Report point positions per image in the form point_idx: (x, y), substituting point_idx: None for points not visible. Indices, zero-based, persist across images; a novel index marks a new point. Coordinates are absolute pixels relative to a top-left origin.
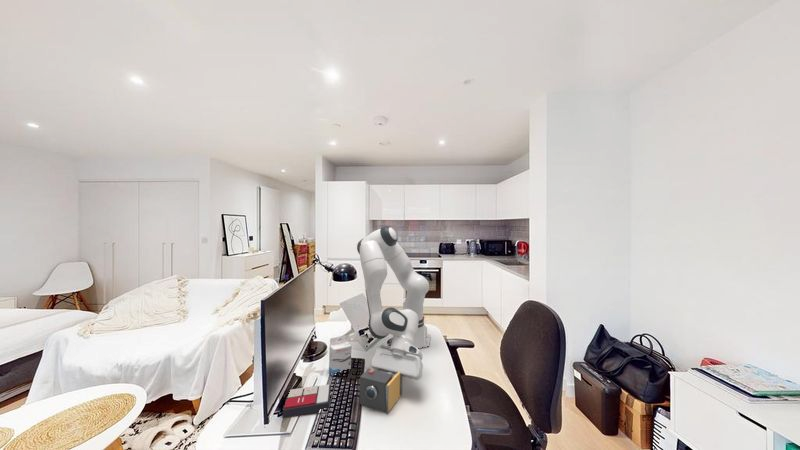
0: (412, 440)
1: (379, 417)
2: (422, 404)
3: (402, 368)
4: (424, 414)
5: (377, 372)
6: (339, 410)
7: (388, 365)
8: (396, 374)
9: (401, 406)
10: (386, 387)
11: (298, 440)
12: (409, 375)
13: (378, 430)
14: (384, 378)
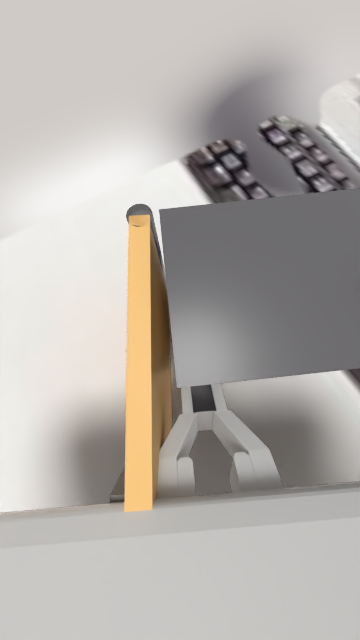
0: (36, 234)
1: None
2: (51, 421)
3: (87, 610)
4: (27, 363)
5: (357, 336)
6: None
7: (352, 581)
8: (146, 437)
9: None
10: (141, 211)
11: (323, 99)
12: (4, 513)
13: None
14: (212, 270)
